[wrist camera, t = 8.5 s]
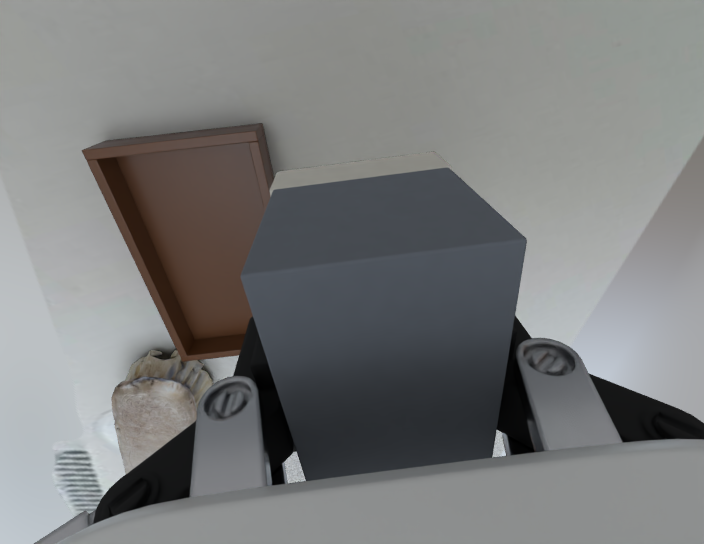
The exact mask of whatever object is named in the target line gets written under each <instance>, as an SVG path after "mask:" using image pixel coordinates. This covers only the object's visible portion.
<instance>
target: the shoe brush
mask: <svg viewBox="0 0 704 544" xmlns="http://www.w3.org/2000/svg"><path fill="white" fill-rule="evenodd" d="M161 354H162V353H161V352H159V351H149V353H148V355H147V356H146V357H143V358H140V359H139V360H138V361H136V362H135V363H134V364H132V365H131V367H130V370H129V373H128V375H127V378H126V380H125V381H123V382H121V383H120V384H119V385H118V386H116V387H115V390H114V392H113V395H112V410H113V416H114V419H115V429H116V433H117V438H118V443H119V448H120V452H121V455H122V459H123V463H124V467H125V472H126V474H127V473H129V472H130V471H131V470H132V469H134V468H135V467H136V466H138V465H139V464H140V463H142V462H143V461H144V460H145V459H147V458H148V457H149V456H151V455H152V454H153V453H155V452H156V451H157V450H159V449H160V448H161V447H162V446H164V445H165V444H166V443H168V442H169V441H170V440H172V439H173V438H174V437H175V436H177V435H178V434H179V433H181V432H182V431H183V430H185V429H186V428H187V427H188V426H190V425H191V424H192V423H194V422H195V421H196V418H197V407H198V404H199V400H200V399H201V397H202V396H203V394H204V393H205V392H206V391H207V390H208V389H209V388H210V387H211V386H212V385H213V383H212V379H210V376H209V374H208V373H207V372H206V371H204V370H202V369H201V368H202V367H203V366H204V365H205V364H202V363H200V362H199V361H197V360H193V361H184V362H183V361H182V359H181V357H180V355H179V353H178V351H177V350H174V352H173V353H172V355H171V359H167V360H162V359H158V358H155V357H156V356H159V355H161Z"/></svg>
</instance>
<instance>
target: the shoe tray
mask: <svg viewBox="0 0 704 544" xmlns="http://www.w3.org/2000/svg"><path fill="white" fill-rule="evenodd" d="M82 152H83V154H84V156H85V158H86V160H87V162H88V165H89V167H90V169H91V171H92V173H93V175H94V177H95V179H96V181H97V183H98V186H99V188H100V190H101V192H102V194H103V196H104V198H105V200H106V202H107V204H108V207H109V209H110V211H111V213H112V215H113V217H114V219H115V221H116V223H117V225H118V227H119V230H120V232H121V234H122V236H123V238H124V240H125V242H126V244H127V246H128V248H129V251H130V253H131V255H132V257H133V259H134V261H135V263H136V265H137V267H138V269H139V271H140V274H141V276H142V278H143V280H144V282H145V284H146V286H147V288H148V290H149V292H150V295H151V297H152V299H153V301H154V303H155V305H156V307H157V309H158V311H159V313H160V315H161V318H162V320H163V322H164V324H165V326H166V328H167V330H168V332H169V334H170V336H171V339H172V341H173V343H174V345H175V347H176V349H177V351H178V353H179V355H180V357H181V359H182V361H183V362H184V361H193V360H202V359H211V358H219V357H228V356H237V355H239V354H240V351H241V347H242V344H243V340H244V337H245V333H246V330H247V326H248V323H249V320H250V318H251V317H253V315H252V312H251V308H250V305H249V302H248V299H247V296H246V293H245V290H244V287H243V284H242V281H241V277H240V276H241V273H242V270H243V267H244V265H245V262H246V260H247V257H248V254H249V252H250V249H251V247H252V244H253V241H254V239H255V236H256V234H257V231H258V228H259V226H260V223H261V221H262V218H263V215H264V213H265V210H266V208H267V205H268V202H269V200H270V197H271V196H270V188H271V186H272V183H273V181H274V176H273V171H272V166H271V162H270V157H269V152H268V147H267V143H266V138H265V133H264V129H263V124H262V123H260V124H251V125H243V126H234V127H225V128H216V129H207V130H198V131H189V132H180V133H171V134H162V135H153V136H144V137H136V138H127V139H118V140H109V141H104V142H101V143H98V144H96V145H93V146H91V147H89V148H86V149H84V150H82Z"/></svg>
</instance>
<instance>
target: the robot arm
mask: <svg viewBox="0 0 704 544" xmlns="http://www.w3.org/2000/svg"><path fill="white" fill-rule="evenodd" d="M497 430H499V431H501V432H502V437H503V442H504V447H505V452H506V456H502V457H493V458H485V459H477V460H469V461H461V462H453V463H445V464H437V465H429V466H421V467H413V468H405V469H397V470H389V471H381V472H373V473H365V474H357V475H349V476H342V477H334V478H327V479H319V480H311V481H304V482H296V483H289V484H288V482H287V475H286V468H285V463H284V461H285V460H286V459H287V458H288V457H289V456H290V455H291V454H292V453H293V452H295V451H296V448H295V445H294V442H293V438H292V435H291V432H290V429H289V426H288V423H287V420H286V417H285V414H284V411H283V408H282V404H281V401H280V398H279V395H278V392H277V389H276V386H275V383H274V380H273V377H272V373H271V370H270V367H269V364H268V361H267V358H266V355H265V352H264V349H263V346H262V343H261V339H260V336H259V333H258V330H257V327H256V324H255V321H254V318H253V317H251V318H250V320H249V323H248V326H247V330H246V333H245V337H244V340H243V344H242V347H241V351H240V354H239V358H238V361H237V365H236V369H235V372H234V376H233V377H228V378H225V379H223V380H220V381H218V382H217V383H215V384H214V385H212V386H211V387H210V388H209V389H208V390H207V391H206V392H205V393H204V394H203V396H202V397H201V399H200V400H199V404H198V407H197V418H196V421H195V422H194V423H192V424H191V425H190V426H188V427H187V428H186V429H185V430H183V431H182V432H181V433H179V434H178V435H177V436H175V437H174V438H173V439H172V440H170V441H169V442H168V443H166V444H165V445H164V446H162V447H161V448H160V449H159V450H157V451H156V452H155V453H153V454H152V455H151V456H149V457H148V458H147V459H145V460H144V461H143V462H142V463H140V464H139V465H138V466H136V467H135V468H134V469H132V470H131V471H130V472H129V473H127V474H126V475H125V476H123V477H122V478H121V479H120V480H118V481H117V482H116V483H115V484H114V485H113V486H112V487H111V488H110V489H109V490H108V491H107V493H106V494H105V495H104V496H103V498H102V499H101V501H100V503H99V505H98V507H97V509H96V510H95V511H93V512H92V513H90V514H88V512H87V511H86V510H85V511H84V512H82V513H81V514H79V515H77V516H76V517H74V518H73V519H71V520H70V521H68V522H67V523H65V524H64V525H62V526H60V527H59V528H58V529H56V530H54V531H53V532H51V533H50V534H48V535H47V536H45V537H43V538H42V539H40V540H39V541H37V542H36V543H34V544H704V423H703V422H701V421H700V420H698V419H697V418H695V417H694V416H692V415H691V414H688V413H686V412H684V411H682V410H680V409H678V408H675V407H673V406H670V405H668V404H665V403H663V402H660V401H658V400H655V399H652V398H650V397H647V396H645V395H642V394H640V393H637V392H634V391H632V390H629V389H627V388H624V387H622V386H619V385H616V384H614V383H611V382H609V381H606V380H604V379H601V378H599V377H596V376H593V375H591V374H589V373H588V371H587V369H586V367H585V365H584V363H583V361H582V359H581V358H580V357H579V355H578V354H577V353H576V352H575V351H574V350H573V349H571V348H570V347H569V346H567V345H565V344H563V343H561V342H559V341H555V340H552V339H547V338H531V337H530V335H529V334H528V332H527V331H526V330H525V328H524V327H523V326H522V324H521V323H520V321H519V320H518V319H517V317H516V316H515V318H514V324H513V330H512V336H511V343H510V349H509V355H508V361H507V368H506V374H505V380H504V386H503V393H502V399H501V405H500V411H499V417H498V424H497Z"/></svg>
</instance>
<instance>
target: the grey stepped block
mask: <svg viewBox="0 0 704 544" xmlns="http://www.w3.org/2000/svg"><path fill="white" fill-rule="evenodd" d="M270 196H271V197H270V200H269V202H268V205H267V208H266V210H265V213H264V215H263V218H262V221H261V223H260V226H259V228H258V231H257V234H256V236H255V239H254V241H253V244H252V247H251V249H250V252H249V254H248V257H247V260H246V262H245V265H244V267H243V270H242V273H241V276H240V277H241V281H242V284H243V287H244V290H245V293H246V296H247V299H248V302H249V305H250V308H251V312H252V315H253V318H254V321H255V324H256V327H257V330H258V333H259V336H260V339H261V343H262V346H263V349H264V352H265V355H266V358H267V361H268V364H269V367H270V370H271V373H272V377H273V380H274V383H275V386H276V389H277V392H278V395H279V398H280V401H281V404H282V408H283V411H284V414H285V417H286V420H287V423H288V426H289V429H290V432H291V435H292V438H293V442H294V445H295V448H296V451H297V454H298V457H299V460H300V463H301V466H302V469H303V473H304V476H305V479H306V481H311V480H319V479H327V478H334V477H342V476H349V475H357V474H365V473H373V472H381V471H389V470H397V469H405V468H413V467H421V466H429V465H437V464H445V463H453V462H461V461H469V460H477V459H485V458H492V455H493V449H494V442H495V436H496V430H497V424H498V417H499V411H500V405H501V399H502V393H503V386H504V380H505V374H506V368H507V361H508V355H509V349H510V343H511V336H512V330H513V324H514V318H515V312H516V305H517V299H518V293H519V287H520V280H521V274H522V268H523V262H524V256H525V249H526V243H527V240H526V238H525V237H524V236H523V235H522V234H521V233H520V232H518V231H517V230H516V229H515V228H514V227H513V226H512V225H511V224H510V223H509V222H508V221H506V220H505V219H504V218H503V217H502V216H501V215H500V214H499V213H498V212H497V211H496V210H494V209H493V208H492V207H491V206H490V205H489V204H488V203H487V202H486V201H485V200H484V199H482V198H481V197H480V196H479V195H478V194H477V193H476V192H475V191H474V190H473V189H471V188H470V187H469V186H468V185H467V184H466V183H465V182H464V181H463V180H462V179H461V178H459V177H458V176H457V175H456V174H455V173H454V172H453V171H452V166H451V165H449V164H448V163H447V162H446V161H445V160H444V159H443V158H442V157H440V156H439V155H438V154H437V153H436V152H434V151H433V152H426V153H418V154H410V155H402V156H394V157H387V158H379V159H371V160H363V161H356V162H348V163H340V164H332V165H324V166H317V167H309V168H301V169H293V170H286V171H278V172H277V173H276V176H275V178H274V181H273V183H272V186H271V188H270Z"/></svg>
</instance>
